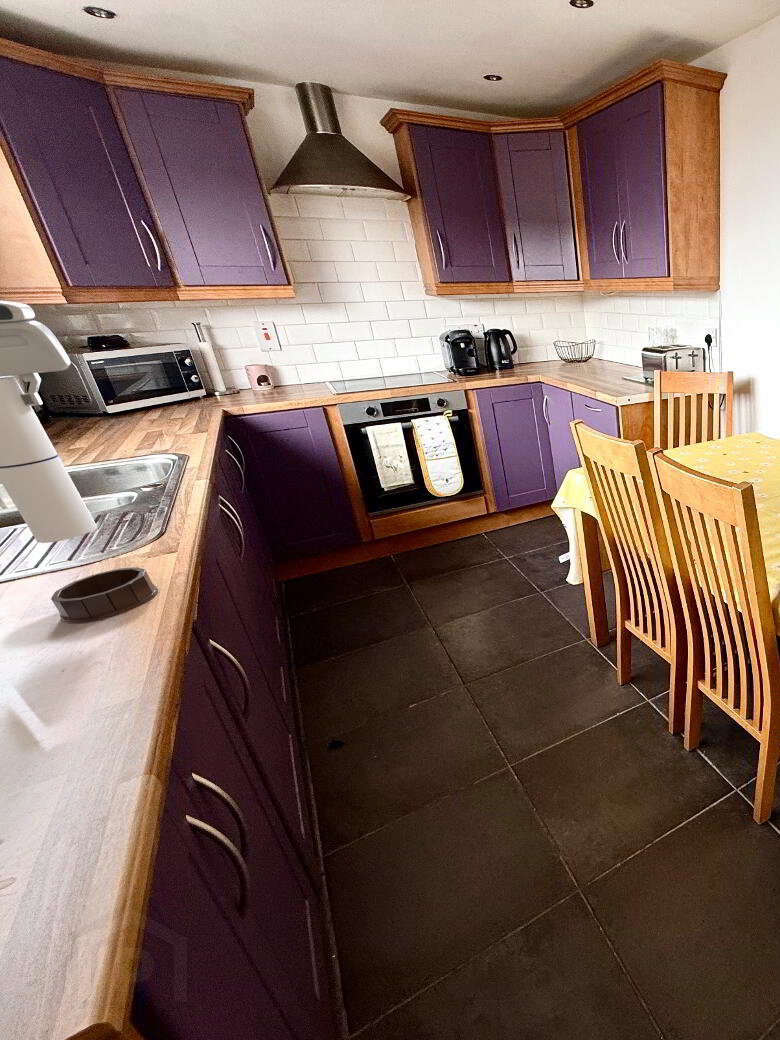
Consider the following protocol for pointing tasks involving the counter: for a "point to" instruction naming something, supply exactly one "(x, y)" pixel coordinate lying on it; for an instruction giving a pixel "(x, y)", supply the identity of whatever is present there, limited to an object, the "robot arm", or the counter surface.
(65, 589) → the ring
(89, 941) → the counter surface
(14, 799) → the counter surface
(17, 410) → the cylindrical container
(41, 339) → the robot arm
